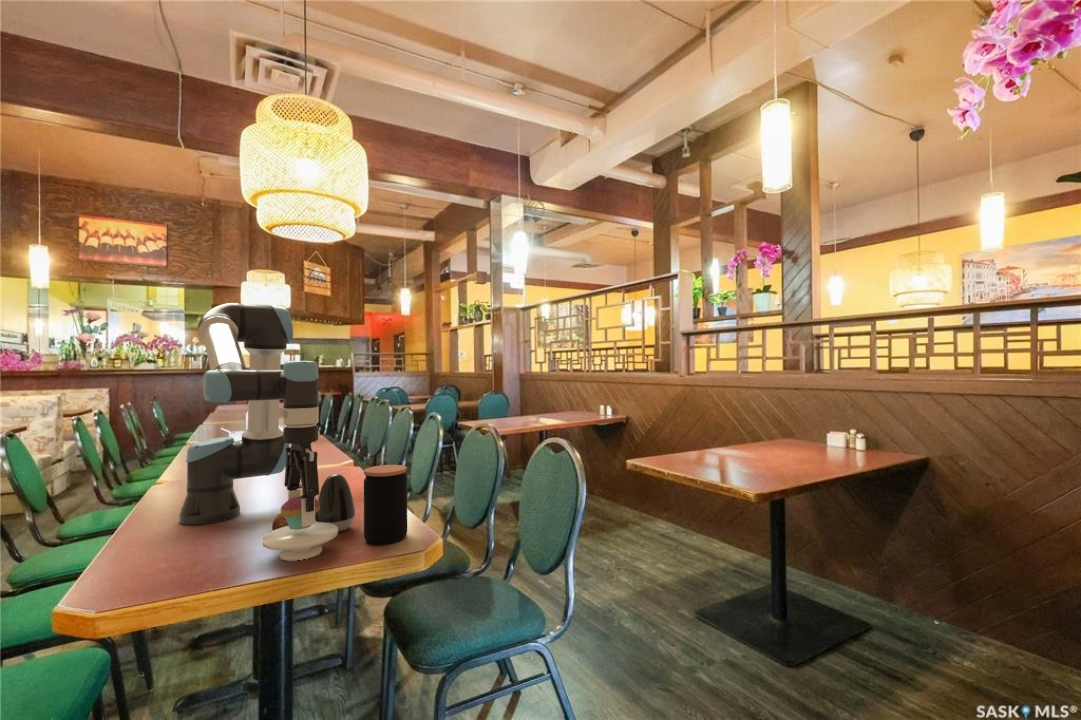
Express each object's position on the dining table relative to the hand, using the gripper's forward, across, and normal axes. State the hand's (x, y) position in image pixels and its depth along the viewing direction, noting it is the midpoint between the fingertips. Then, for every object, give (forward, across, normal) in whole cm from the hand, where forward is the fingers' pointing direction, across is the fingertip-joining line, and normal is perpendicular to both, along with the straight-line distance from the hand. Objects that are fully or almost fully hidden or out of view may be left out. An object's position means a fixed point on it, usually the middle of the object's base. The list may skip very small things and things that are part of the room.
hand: (301, 521), depth 116 cm
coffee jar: (+8, +5, +19) cm, 21 cm away
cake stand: (+8, 0, 0) cm, 8 cm away
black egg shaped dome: (+8, -12, +13) cm, 19 cm away
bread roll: (+8, -20, +5) cm, 23 cm away
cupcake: (+2, 0, 0) cm, 2 cm away
